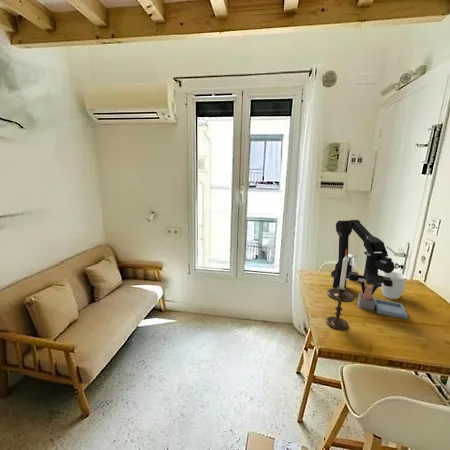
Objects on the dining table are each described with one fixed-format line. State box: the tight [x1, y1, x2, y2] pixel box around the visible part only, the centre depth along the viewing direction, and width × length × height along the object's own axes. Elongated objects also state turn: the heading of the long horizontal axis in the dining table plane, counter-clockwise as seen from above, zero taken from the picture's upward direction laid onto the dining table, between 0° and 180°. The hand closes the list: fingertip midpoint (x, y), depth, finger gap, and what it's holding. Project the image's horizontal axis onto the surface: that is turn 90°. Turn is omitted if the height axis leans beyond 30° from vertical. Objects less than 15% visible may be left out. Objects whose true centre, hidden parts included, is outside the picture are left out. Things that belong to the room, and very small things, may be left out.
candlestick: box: [325, 249, 356, 331], centre depth 114 cm, size 11×11×35 cm
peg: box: [362, 285, 373, 300], centre depth 133 cm, size 3×3×10 cm
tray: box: [374, 298, 409, 320], centre depth 130 cm, size 12×12×2 cm
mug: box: [380, 270, 407, 300], centre depth 145 cm, size 15×11×13 cm
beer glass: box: [346, 253, 357, 281], centre depth 168 cm, size 7×7×15 cm
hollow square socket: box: [357, 293, 376, 311], centre depth 133 cm, size 7×7×5 cm
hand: (367, 294), depth 133 cm, fingers closed on peg, 3 cm apart
